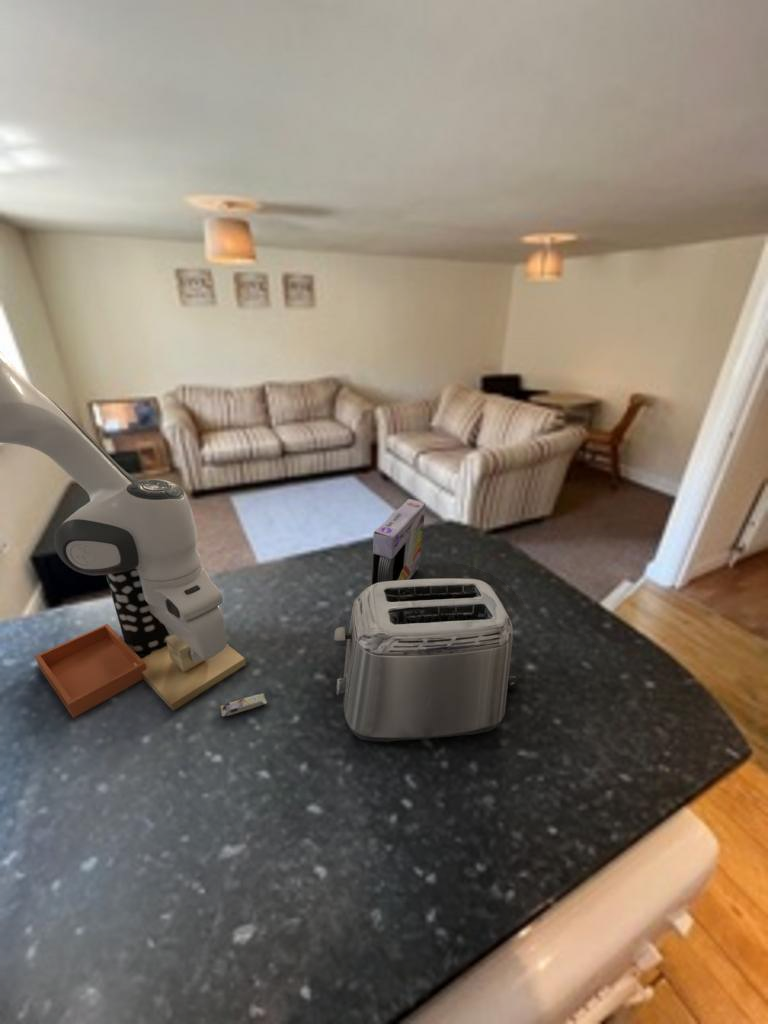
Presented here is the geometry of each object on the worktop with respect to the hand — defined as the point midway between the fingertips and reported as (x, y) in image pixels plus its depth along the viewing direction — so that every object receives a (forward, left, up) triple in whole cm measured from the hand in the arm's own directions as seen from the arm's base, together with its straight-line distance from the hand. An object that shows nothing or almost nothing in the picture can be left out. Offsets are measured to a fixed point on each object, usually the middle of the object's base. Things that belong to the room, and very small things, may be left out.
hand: (187, 650), depth 75 cm
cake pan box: (+11, +43, -4) cm, 45 cm away
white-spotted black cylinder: (-12, -1, -4) cm, 12 cm away
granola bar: (+14, +1, -4) cm, 15 cm away
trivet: (0, 0, -4) cm, 4 cm away
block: (0, 0, -2) cm, 2 cm away
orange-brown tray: (-11, -11, -4) cm, 16 cm away
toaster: (+35, +21, -4) cm, 41 cm away
